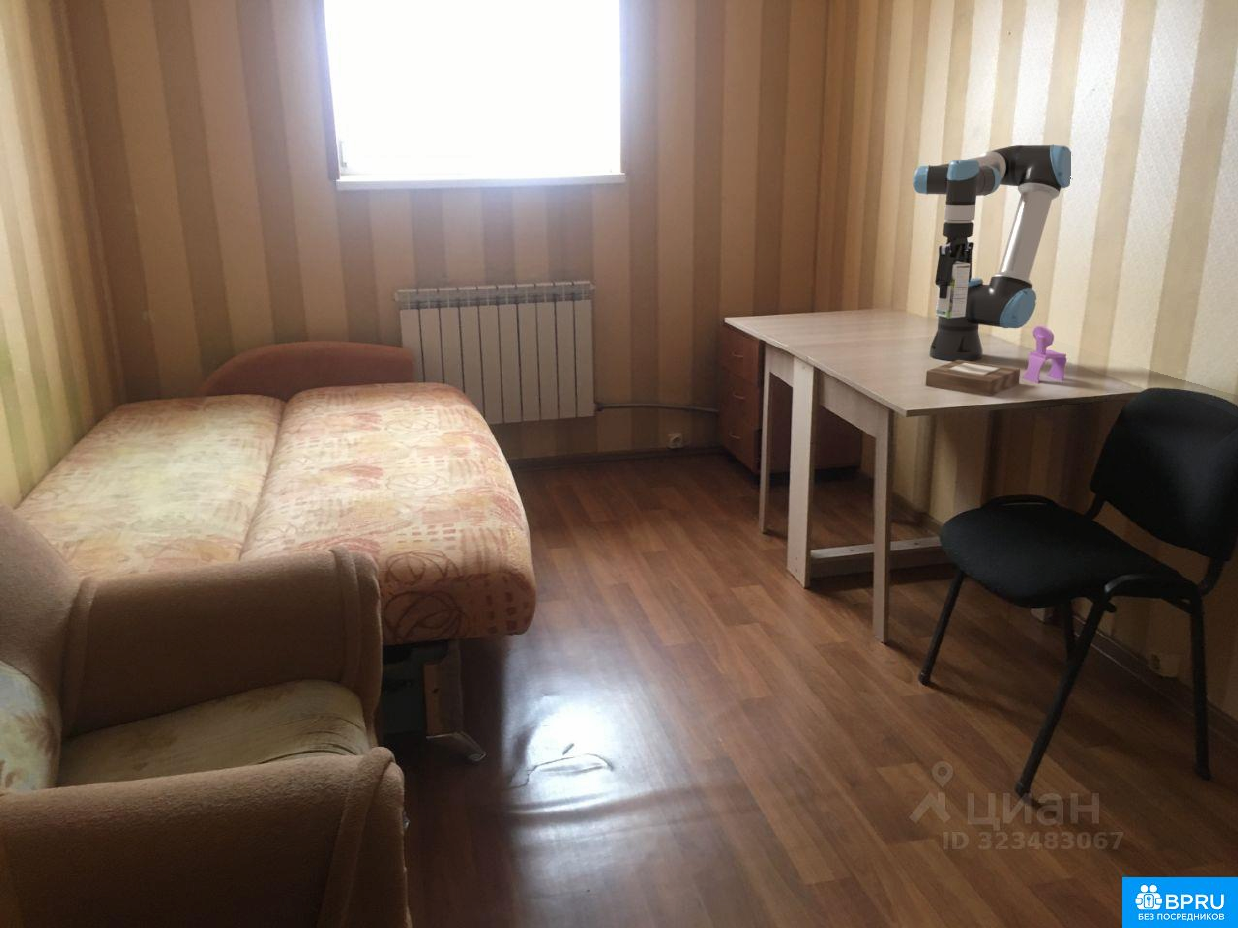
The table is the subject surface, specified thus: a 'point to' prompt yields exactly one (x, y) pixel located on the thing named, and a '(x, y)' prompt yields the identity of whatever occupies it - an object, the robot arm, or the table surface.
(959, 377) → the walnut base
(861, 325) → the table surface
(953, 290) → the syrup box
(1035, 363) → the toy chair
